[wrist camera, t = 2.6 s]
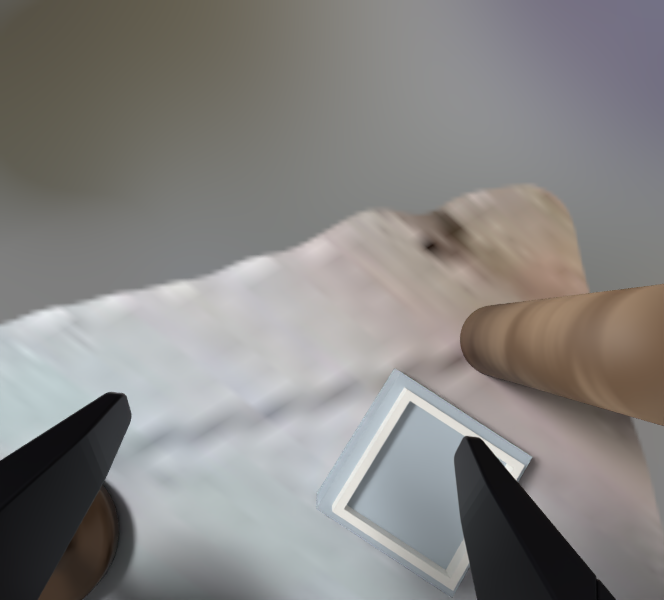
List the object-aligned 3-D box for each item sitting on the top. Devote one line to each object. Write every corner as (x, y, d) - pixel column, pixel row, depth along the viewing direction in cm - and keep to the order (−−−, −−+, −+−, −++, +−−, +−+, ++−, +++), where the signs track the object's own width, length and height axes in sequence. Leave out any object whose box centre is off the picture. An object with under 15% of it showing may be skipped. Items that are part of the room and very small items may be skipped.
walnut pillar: (543, 350, 25) (774, 375, 12) (486, 389, 25) (663, 457, 12) (503, 292, 26) (689, 256, 13) (446, 330, 25) (578, 334, 12)
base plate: (441, 575, 24) (456, 608, 21) (316, 493, 24) (316, 515, 21) (515, 446, 25) (540, 461, 22) (394, 368, 25) (403, 373, 22)
